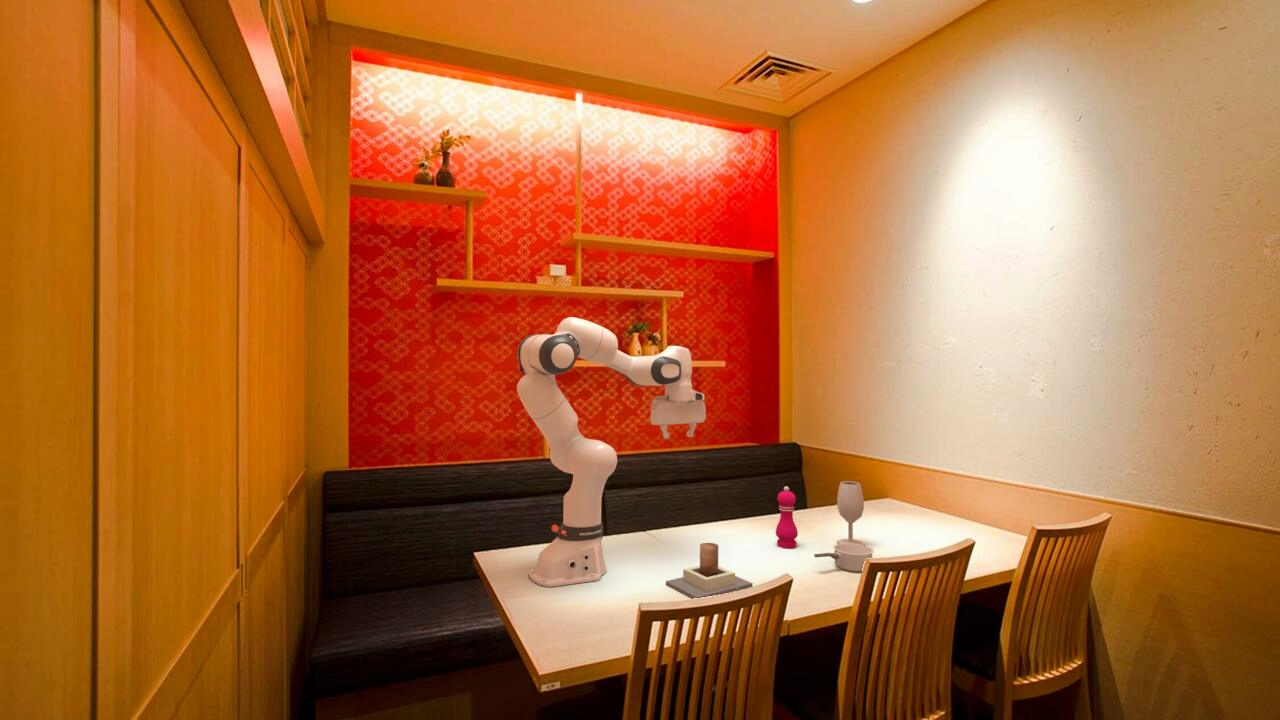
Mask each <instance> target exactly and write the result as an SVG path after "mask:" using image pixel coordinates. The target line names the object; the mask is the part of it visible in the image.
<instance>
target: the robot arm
mask: <svg viewBox="0 0 1280 720" xmlns="http://www.w3.org/2000/svg"><path fill="white" fill-rule="evenodd" d="M618 341H619V340H618V338H617V335H616V334H614V333H613V332H612V331H611V330H609V329H607V328H606V327H603V326H601V325H600V324H597V323H594V322H592V321H589V320H586V319H583V318H580V317H574V316H570V317H566V318H563V319H562V320H561V322H560V323H559V324H558V326H557V328H556V331H555V332H554V334H548V333H547V334H545V333H542V334H540V333H539V334H531V335H528V336H526V337H525V338H523V339H522V340H521V341H520V343H519V344H518V346H517V350H516V356H517V360H518V364H519V371H520V373H521V374H522V375H523V376H522V377H521V378H520V380H519V381H518V383H517V385H516V391H517V394H518V397H519V399H520V402H521V403H522V406H523V407H524V409H525V411H526V412H527V414H528V415H529V417H530V419H532V421H533V422H534V423H535V426H536V427H537V428H538V429H539V431H540V433H541V434H542V435H543V437H544V438H545V440H546V442H547V445H548V447H549V459H550V461H551V463H552V465H554V467H556V468H557V469H559V470H560V471H562V472H563V473H566V474H572V482H571V486H570V489H569V490H568V491H567V492H566V493H565V494H564V496H563V511H562V513H563V519H562V521H563V522H562V523H561V525H560V526H559V525H557V524H552V526H551V531H552V532H554V533H557V536H556V537H555V539H553V540H552V541H551V543H549V544H548V545H547V546H546V547H545V548H543V550H542V551H540V552H539V554H538V557H537V561H536V567H535V568H531V569H530V570H529V571H528V577H529V579H530V580H531V581H532V582H534V583H535V584H538V585H540V586H543V587H547V588H548V587H549V588H550V587H552V588H553V587H559V586H566V585H574V584H581V583H589V582H596V581H600V580H601V578H602V576H603V575H604V574H606V573H607V571H608V570H607V567H606V563H605V558H604V553H603V543H602V542H603V536H604V535H603V522H602V501H603V500H602V498H603V492H604V489H605V485H606V483H607V480H608V478H609V477H610V476H611V475H612V474H613V473H614V471H615V470H616V467H617V464H618V456H617V455H618V454H617V452H616V450H615V449H614V447H612V446H611V445H609V444H608V443H605V442H604V441H602V440H599V439H590V438H586V437H585V436H584V435H582V433H581V432H580V429H579V427H578V423H579V417H578V414H577V413H576V411H575V410H574V409H573V407H572V405H571V404H570V402H569V401H568V399H567V398H566V397H565V395H564V393H563V392H562V391H561V389H560V388H559V387H558V384H557V380H556V376H558V375H563V374H565V373H567V372H569V371H570V370H572V368H573V367H574V365H575V364H576V362H577V359H578V358H579V359H582V360H585V361H586V362H591V363H593V364H597V365H601V366H602V365H603V366H605V367H607V368H609V369H611V370H613V371H616V373H617V372H618V373H619V374H621V375H623V376H624V377H625V378H626V380H628V382H629V383H630V384H632V385H633V386H636V387H643V386H645V387H646V386H656V387H657V386H664V395H656V396H655V397H654V398H653V399H652V400H651V409H650V419H649V420H650V423H651V424H652V425H653V426H660V427H659V428H660V430H661V432H662V438H663V439H664V440H669V439H670V438H671V432H668V430H667V429H668V425H683V424H688V427H689V429H688V431H686V437H688V438H693V437H694V432H695V430H696V428H697V424H699V423H700V424H701V423H705V421H706V418H707V414H706V413H707V412H706V411H707V410H706V409H707V408H706V404H705V394H704V393H701V392H699V391H696V390H695V389H693V384H692V380H691V379H692V374H693V361H692V353H691V351H690V349H689V348H687V347H685V346H682V345H674V344H673V345H669V346H667V347H666V348H665V349H664V350H663V351H662V352H660V353H658V354H655V355H632V356H631V355H629V354H627V353H624V352H622V351H621V350H619V342H618Z"/></svg>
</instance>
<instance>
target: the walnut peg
mask: <svg viewBox="0 0 1280 720" xmlns="http://www.w3.org/2000/svg"><path fill="white" fill-rule="evenodd" d="M699 566H700V574H701V575H703V576H705V577H710V576H714V575H718V566H719V544H717V543H714V542H704V543H700V544H699Z"/></svg>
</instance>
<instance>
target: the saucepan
mask: <svg viewBox="0 0 1280 720" xmlns="http://www.w3.org/2000/svg"><path fill="white" fill-rule="evenodd" d="M832 548H833V550H834V552H821V553H815V554H814V557H815V558H825V557H830V558H832V559H834V565H836V566H837V567H839V568H840V569H842V570H844V569H845V570H844V571H847V570H848V571H849V572H855V573H857V572H858V573H860V572H861V571H862V568H863V564H864V561H865V559H866V558H872V559H873V553H874V551H875V550H874V549H873V548H872V547H870V546H866V545H865V546H863V545H858V544H838V543H836V544H834V545H833V547H832ZM848 571H847V572H848Z"/></svg>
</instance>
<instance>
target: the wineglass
mask: <svg viewBox="0 0 1280 720" xmlns="http://www.w3.org/2000/svg"><path fill="white" fill-rule="evenodd" d="M837 492H838V493H837V498H836V502H837V503H836V505H837V510H838V514H839V515H840V517H842V518H843V519H844V520H845V521H846V523H847V524H848V531H847V534H848V538H842V539H838V540H836V544H858V545H863V546H866V544H865V543H864V542H863V541H860V540H857V539H853V537H854V534H853V533H854V531H853V530H854V529H853V528H854V527H853V524H854V523H856V522H857V521H858V520H860V518H862V516H863V513H864V509H865V508H864V506H865V505H864V504H865V503H864V502H865V501H864V494H863V490H862V486H861V483H859V482H858V481H857V482H856V481H840V484H839V487H838V491H837Z"/></svg>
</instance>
